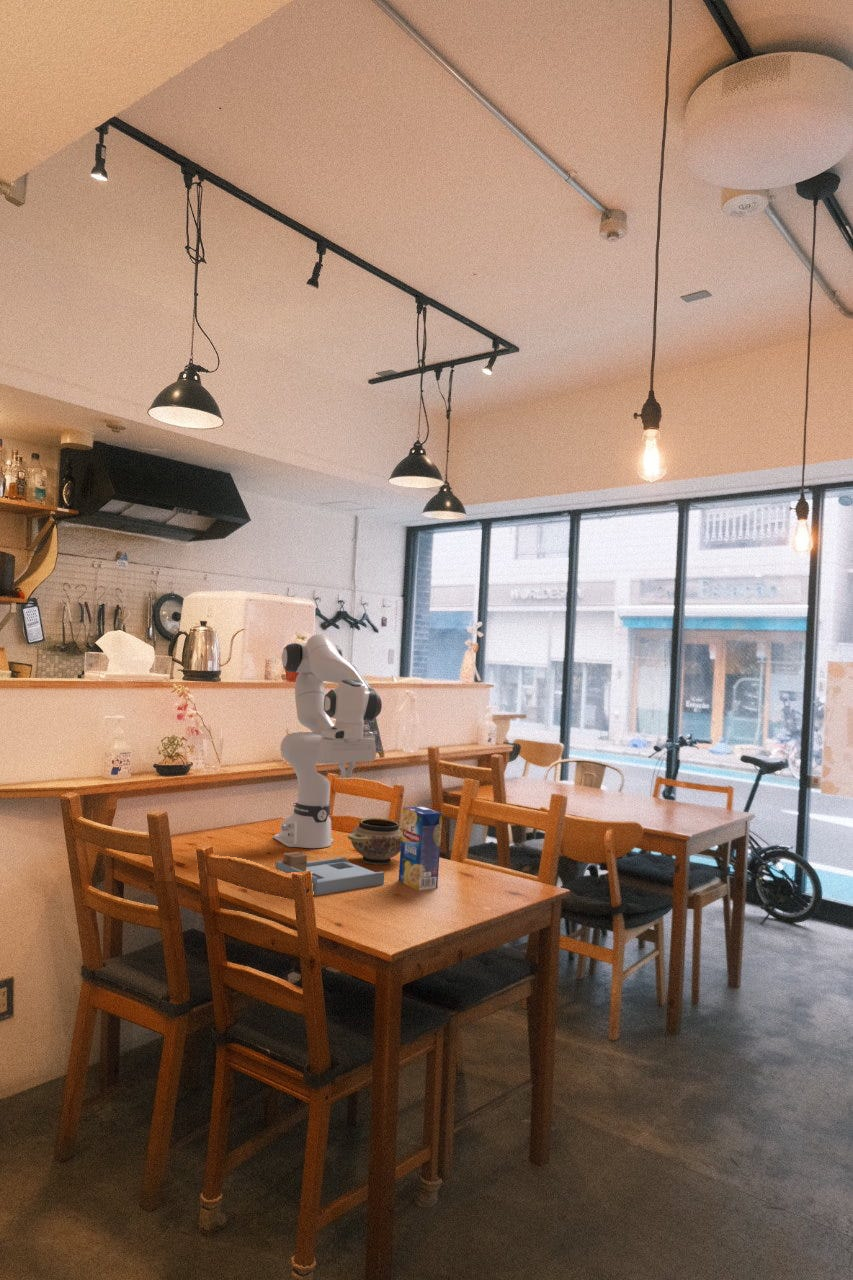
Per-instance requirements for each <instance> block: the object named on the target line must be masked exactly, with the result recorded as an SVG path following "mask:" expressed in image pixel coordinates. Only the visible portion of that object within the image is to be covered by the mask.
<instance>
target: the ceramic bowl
mask: <svg viewBox="0 0 853 1280" xmlns="http://www.w3.org/2000/svg"><path fill="white" fill-rule="evenodd" d="M401 835H402V826H400V823H398V822H397V821H395V820H391V819H387V818H379V817H365V818H362V819H359V823H358V825H357V826H356V827H355V828H353V829H352V831H351V833H349V834H348V835H347V838H348V840H349V841H351V845H352V846H353V848H354V850H355V851H356V852H357V853H359V855H361V856H362V859H361V860H362V862H364V863H365V864H371V865H378V864H379V865H387V864H390V863H391V861H392V860H391V859H392V858H393V857H396V856H397V855H398V854H399V853H400V851H401Z"/></svg>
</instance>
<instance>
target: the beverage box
mask: <svg viewBox="0 0 853 1280" xmlns="http://www.w3.org/2000/svg"><path fill="white" fill-rule="evenodd" d="M442 818H443V813H442V812H439V811H438V810H437V811H436V810H433V809H431V808H428V807H425V806H408V807H402V821H401V823H402V825H401V827H402V835H401V851H400V852H399V853H400V854H399V866H398V867H399V869H398V882H400V883H401V884H405V885H406V886H408V887H410V888H412V889H414V890H416V891H423V890H425V891H426V890H432V889H433V890H434V889H438V886H439V885H438V883H439V882H438V881H439V867H440V854H441V853H440V851H441V838H442V836H441V835H442V821H443V819H442Z"/></svg>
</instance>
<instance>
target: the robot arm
mask: <svg viewBox="0 0 853 1280" xmlns="http://www.w3.org/2000/svg"><path fill="white" fill-rule="evenodd" d="M281 662H282V667H283V669H284V670H285V671H286V672H289V673H293V674H295V673H298V674H297V675H296V678H295V684H294V698H295V708H296V709H295V710H296V717H297V721H298V722H299V723H300V724H301V726H303V727H304V728H307V729H309V730H310V731H311V732H309V731H299V732H292V733H287V734H286V735H285V736H284V737H283V738H282V741H281V743H280V753H281V756H282V758H283V760H285V762H286V763H287V764H289V765H290V767H292V769H293V771H294V772H295V775H296V778H297V802H294V803H293V805H292V806H293V807H294V809H293V813H291V814H290V815H289V816H288V817H287V818H286V819H284V820H283V821H282V823H281V828H280V833H276V834H274V835H273V839H275V840H276V841H278V842H279V843H281V844H283V845H284V846H286V847H290V848H303V849H304V848H305V849H321V848H327V847H330V846H332V843H334V838H332V820H331V817H330V816H329V815H330V814H331V803H330V798H331V797H330V795H331V782H330V780H329V779H328V778H327V777H326V776H325V775H323V774H321V773H320V772H318V770H317V765H324V764H325V765H335V764H336V765H337V764H338V765H337V766H338V769H339V770H340V777H341V778H351V777H352V775H353V774H352V773H353V770H354V769H355V767H356V763H367V762H374V761H375V760H376V758H377V750H376V749H377V748H376V736H375V734H374V733H373V732H372V731H364V727H365V722H373V721H374V720H375V719H376V718H377V717H378V716H379V715H380V713H382V708H383V707H382V705H383V703H382V699H381V697H380V695H379V694H378V692H377V691H376V690H375V689H373V688H372V687H371V686H370V684H369V683H368V681H367V680H366V678H365V677H364V676H363V675H362V673H361V672H360V670H359V669H358V668H357V667H356V666H354V664H352V663H350V662H349V661H348V660H347V659H346V658H344V657H343V651H342V649H341V648H340V646H338V645H337V644H335V643H334V642H333V640H332V639H331V638H330V637H329V636H328V635H326V634H322V633H317V634H314V635H312V636H310V637H309V638H308V640H307V641H306V642H305V643H296V642H294V643H289V644H286V645H285V647H284V648H283V650H282V653H281ZM325 682H327V683H334V684H339V685H338V686H337V687H336V688H334V689H330V690H329V691H328V692H327V693H326V689H325V685H324V683H325ZM332 719H335V723H334V721H333V720H332ZM347 765H348V767H347V769H346V768H345V767H346V766H347Z"/></svg>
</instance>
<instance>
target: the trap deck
mask: <svg viewBox="0 0 853 1280" xmlns="http://www.w3.org/2000/svg"><path fill="white" fill-rule="evenodd" d="M274 868H275V869H277V870H280V871H283V872H285V873H291V872H304V871H301V870H299V869H297V868H294V867H292V866H289V865H287V864H285V863H283V861H280V860H276V861H275V867H274ZM275 869H274V870H275ZM306 871H311V873H312V883H313V891H314V895H315V896H321V895H327V894H333V893H339V892H345V891H351V890H357V889H361V888H369V887H374V886H381V885H384V884H385V883H384V882H385V872H384V871H383V870H382V871H377V872H375V871H373V870H371V869H368V868H365V867H362V866H360V865H359V864H358V865H357V864H355V863H352V862H350V861H347V857H345V856H343V857H336V858H335V857H334V858H328V859H322V860H314V861H307V864H306ZM315 896H314V897H315Z"/></svg>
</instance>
